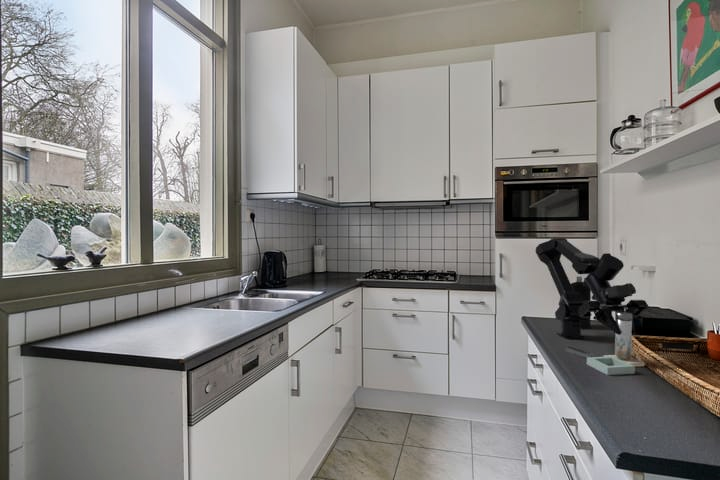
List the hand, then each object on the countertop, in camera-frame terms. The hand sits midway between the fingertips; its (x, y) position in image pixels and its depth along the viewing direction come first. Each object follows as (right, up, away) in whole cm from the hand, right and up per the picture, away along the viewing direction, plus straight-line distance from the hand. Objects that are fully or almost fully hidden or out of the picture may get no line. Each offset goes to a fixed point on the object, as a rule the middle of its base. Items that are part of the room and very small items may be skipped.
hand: (626, 333), depth 109 cm
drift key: (-9, -9, +9) cm, 15 cm away
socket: (-7, -9, -3) cm, 12 cm away
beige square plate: (0, -9, +2) cm, 9 cm away
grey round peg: (0, -7, +2) cm, 7 cm away
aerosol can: (+10, -8, +41) cm, 43 cm away
